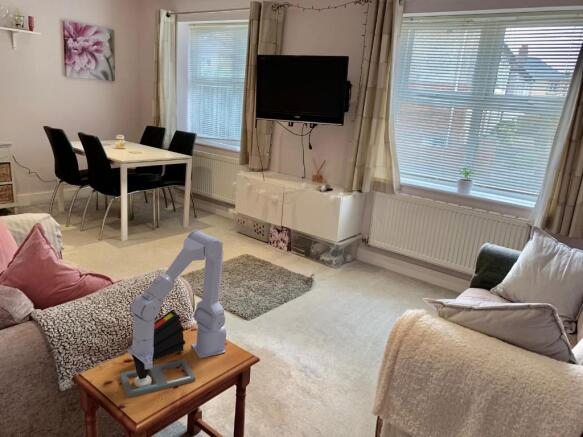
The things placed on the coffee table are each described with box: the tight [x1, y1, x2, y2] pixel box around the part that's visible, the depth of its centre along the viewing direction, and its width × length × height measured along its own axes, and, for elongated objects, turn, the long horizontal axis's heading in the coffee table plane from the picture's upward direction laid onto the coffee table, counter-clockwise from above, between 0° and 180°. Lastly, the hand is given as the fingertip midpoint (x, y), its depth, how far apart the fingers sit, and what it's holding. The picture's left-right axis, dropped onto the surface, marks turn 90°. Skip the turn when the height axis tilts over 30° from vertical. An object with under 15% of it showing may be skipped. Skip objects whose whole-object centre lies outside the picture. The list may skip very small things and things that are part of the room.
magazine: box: [153, 309, 186, 360], centre depth 142 cm, size 4×13×15 cm, turn 133°
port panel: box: [119, 358, 196, 398], centre depth 132 cm, size 20×10×1 cm, turn 122°
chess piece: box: [134, 374, 153, 388], centre depth 128 cm, size 5×5×10 cm
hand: (141, 375), depth 128 cm, fingers closed on chess piece, 2 cm apart
